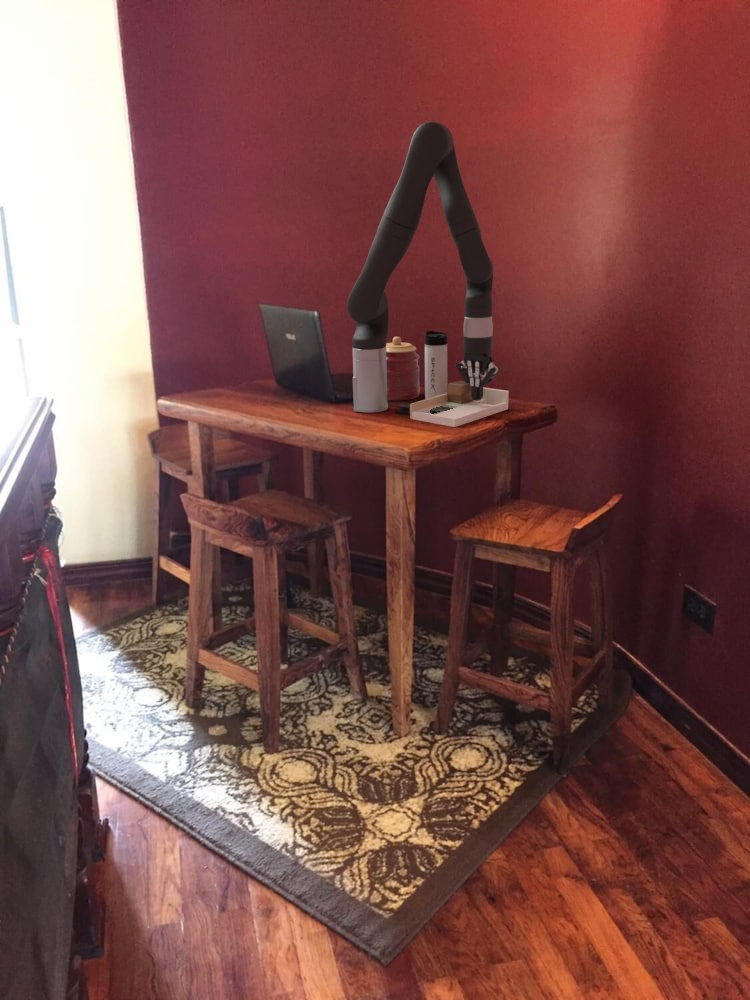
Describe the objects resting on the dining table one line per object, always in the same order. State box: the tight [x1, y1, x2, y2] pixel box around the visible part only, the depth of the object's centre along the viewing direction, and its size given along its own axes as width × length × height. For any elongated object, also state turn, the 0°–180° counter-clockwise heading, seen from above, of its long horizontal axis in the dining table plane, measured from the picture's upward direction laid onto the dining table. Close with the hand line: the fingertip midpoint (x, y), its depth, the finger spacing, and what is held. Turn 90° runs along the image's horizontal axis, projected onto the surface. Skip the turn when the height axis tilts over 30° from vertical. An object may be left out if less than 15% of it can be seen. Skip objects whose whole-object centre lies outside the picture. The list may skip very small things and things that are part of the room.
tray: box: [409, 386, 510, 428], centre depth 208 cm, size 24×15×5 cm, turn 137°
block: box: [447, 380, 473, 404], centre depth 213 cm, size 5×5×5 cm
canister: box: [386, 336, 421, 402], centre depth 228 cm, size 13×13×18 cm
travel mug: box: [424, 330, 448, 400], centre depth 218 cm, size 6×7×20 cm
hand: (477, 399), depth 207 cm, fingers closed
